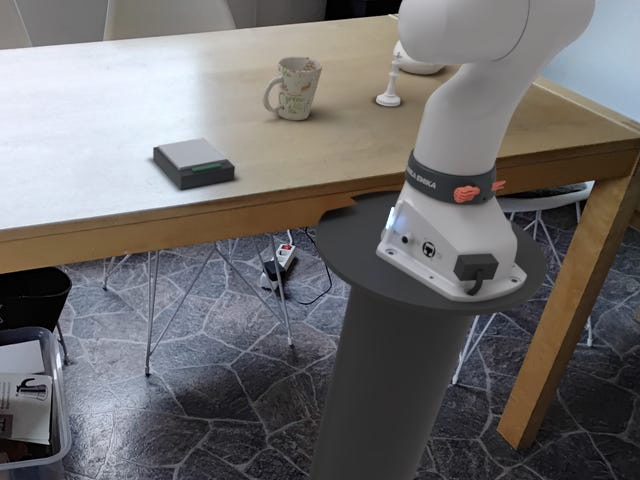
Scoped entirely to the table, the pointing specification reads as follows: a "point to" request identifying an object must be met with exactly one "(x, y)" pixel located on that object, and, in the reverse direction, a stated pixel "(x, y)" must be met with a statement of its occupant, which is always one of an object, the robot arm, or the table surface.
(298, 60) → the mug
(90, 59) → the table surface
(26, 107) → the table surface
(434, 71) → the teapot
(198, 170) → the scale
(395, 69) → the chess piece
